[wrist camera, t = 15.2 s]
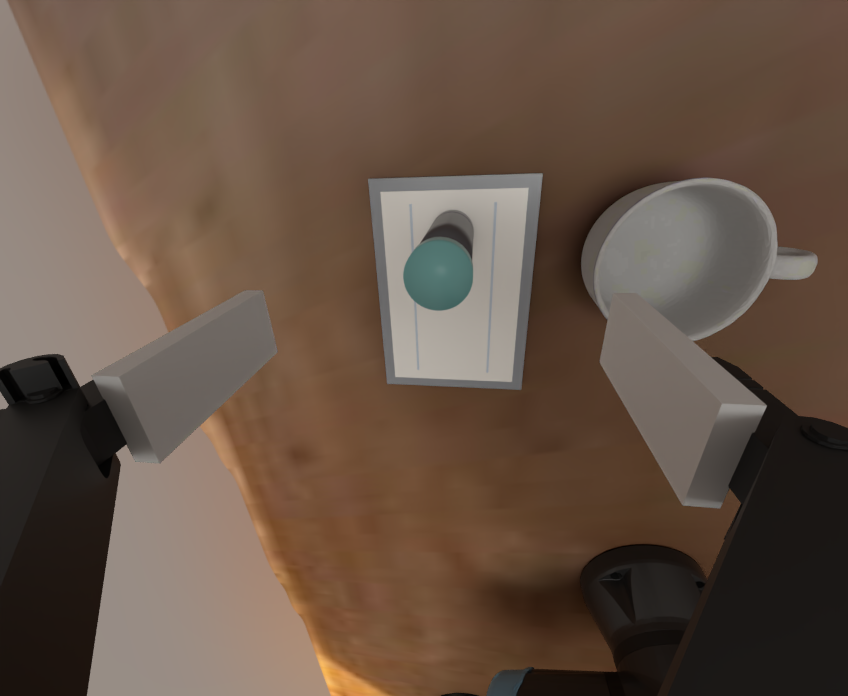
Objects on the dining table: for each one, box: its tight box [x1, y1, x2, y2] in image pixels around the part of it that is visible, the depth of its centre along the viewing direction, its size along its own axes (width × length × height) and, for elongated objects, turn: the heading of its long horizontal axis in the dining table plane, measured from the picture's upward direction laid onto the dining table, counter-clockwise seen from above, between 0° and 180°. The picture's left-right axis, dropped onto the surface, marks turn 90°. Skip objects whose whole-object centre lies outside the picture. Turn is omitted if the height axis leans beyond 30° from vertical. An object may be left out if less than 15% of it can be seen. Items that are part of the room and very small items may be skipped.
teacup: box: [581, 178, 818, 341], centre depth 27 cm, size 14×11×8 cm
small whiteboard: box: [368, 173, 543, 390], centre depth 35 cm, size 20×14×1 cm
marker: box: [403, 210, 474, 311], centre depth 26 cm, size 4×4×13 cm
